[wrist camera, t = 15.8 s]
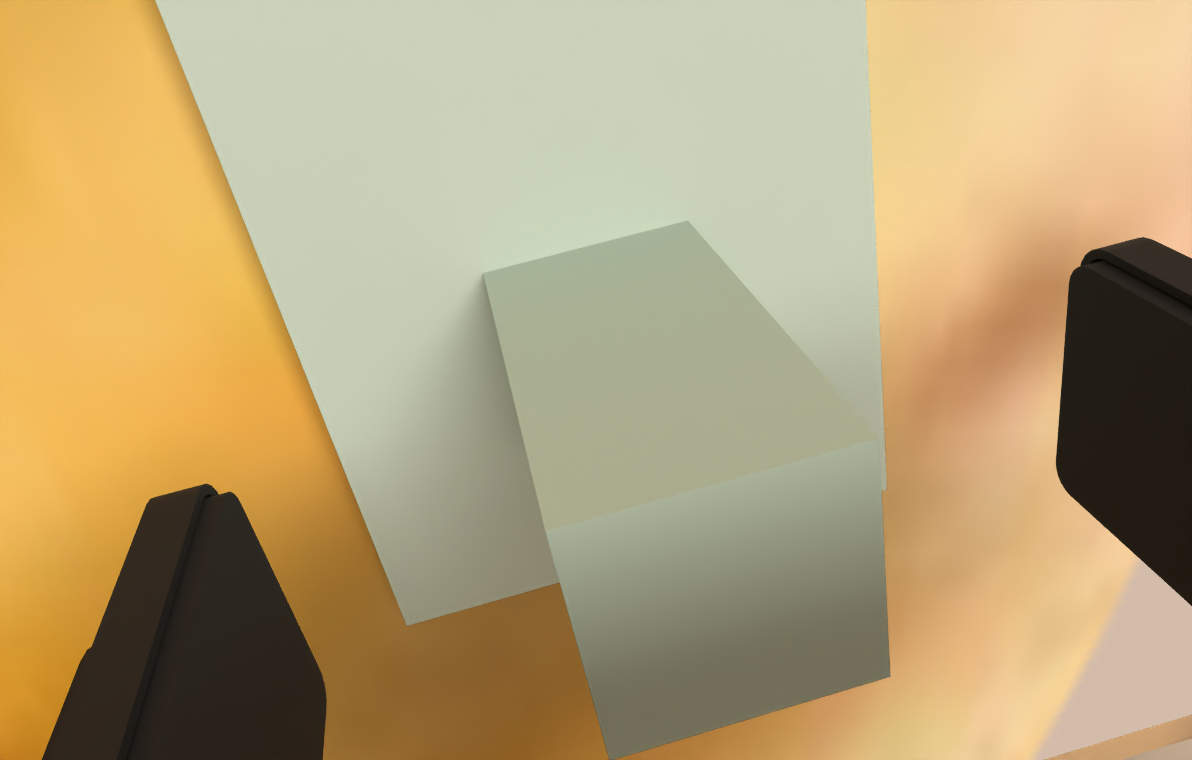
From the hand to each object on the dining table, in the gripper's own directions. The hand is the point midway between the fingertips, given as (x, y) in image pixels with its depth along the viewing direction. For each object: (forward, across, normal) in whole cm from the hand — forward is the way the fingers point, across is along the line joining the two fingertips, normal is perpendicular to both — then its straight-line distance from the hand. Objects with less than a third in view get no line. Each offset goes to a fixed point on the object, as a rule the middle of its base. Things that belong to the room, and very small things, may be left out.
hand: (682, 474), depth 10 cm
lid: (+5, 0, -2) cm, 6 cm away
